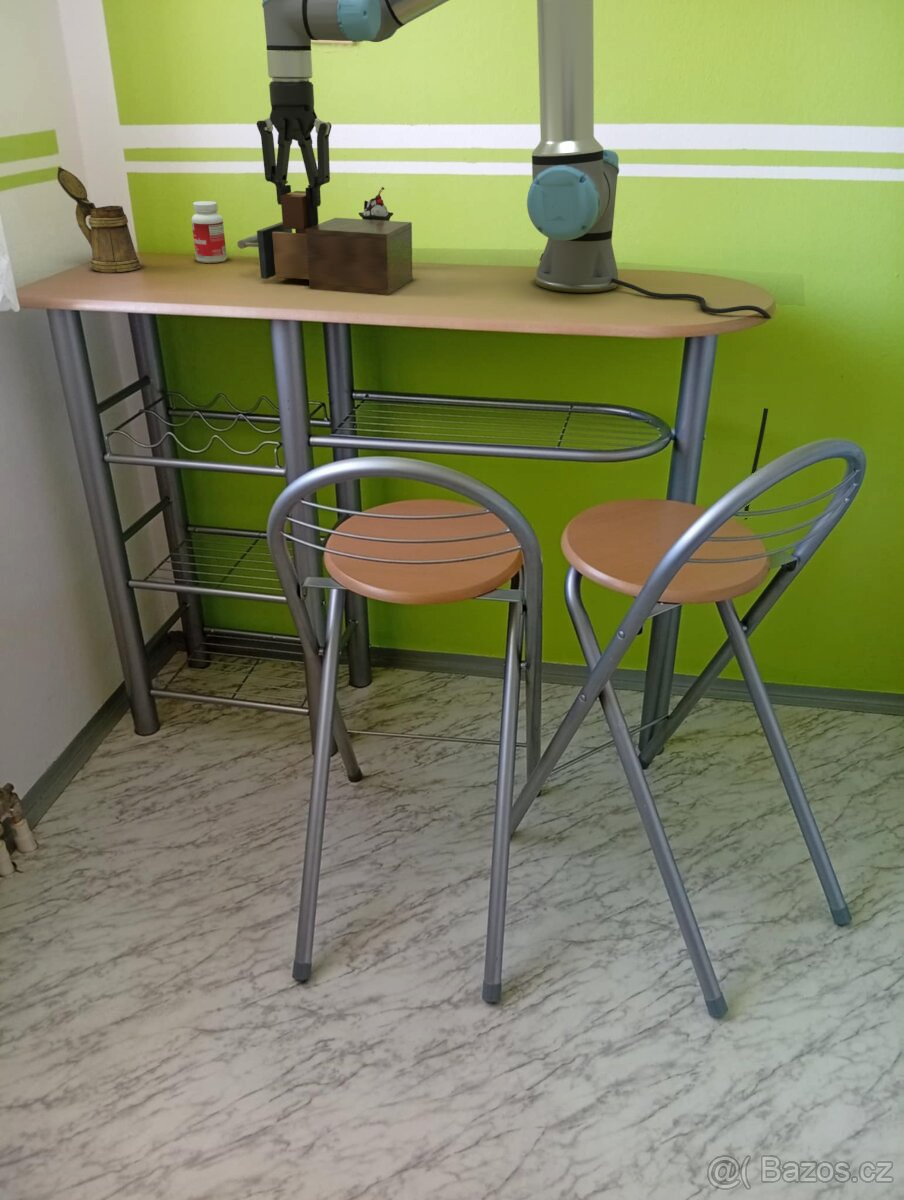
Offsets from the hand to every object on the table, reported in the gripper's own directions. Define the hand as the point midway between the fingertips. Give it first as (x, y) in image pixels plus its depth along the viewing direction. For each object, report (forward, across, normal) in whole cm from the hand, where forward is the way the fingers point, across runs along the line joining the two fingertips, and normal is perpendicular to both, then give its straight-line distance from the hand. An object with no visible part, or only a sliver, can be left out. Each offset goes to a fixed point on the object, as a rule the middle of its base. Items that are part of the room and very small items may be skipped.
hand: (300, 224), depth 174 cm
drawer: (+9, +2, 0) cm, 9 cm away
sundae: (+10, -9, -15) cm, 20 cm away
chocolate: (0, 0, 0) cm, 0 cm away
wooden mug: (+10, +41, +3) cm, 43 cm away
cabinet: (+10, -12, 0) cm, 15 cm away
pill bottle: (+10, +25, -10) cm, 29 cm away
